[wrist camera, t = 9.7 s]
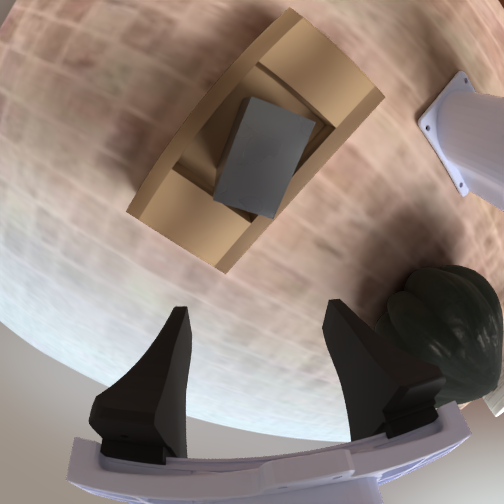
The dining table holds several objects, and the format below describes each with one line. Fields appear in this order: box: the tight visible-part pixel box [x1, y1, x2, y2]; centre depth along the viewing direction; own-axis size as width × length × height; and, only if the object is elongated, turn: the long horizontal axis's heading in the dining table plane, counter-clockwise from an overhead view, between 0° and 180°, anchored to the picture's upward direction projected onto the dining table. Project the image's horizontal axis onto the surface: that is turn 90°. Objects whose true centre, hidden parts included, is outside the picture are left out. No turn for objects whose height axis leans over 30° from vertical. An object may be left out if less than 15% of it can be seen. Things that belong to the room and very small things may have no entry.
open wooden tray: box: [126, 7, 385, 274], centre depth 17 cm, size 8×16×3 cm, turn 141°
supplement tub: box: [483, 331, 504, 416], centre depth 29 cm, size 10×10×15 cm
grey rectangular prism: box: [213, 96, 316, 219], centre depth 15 cm, size 3×5×6 cm, turn 159°
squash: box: [374, 265, 503, 408], centre depth 23 cm, size 14×15×15 cm
